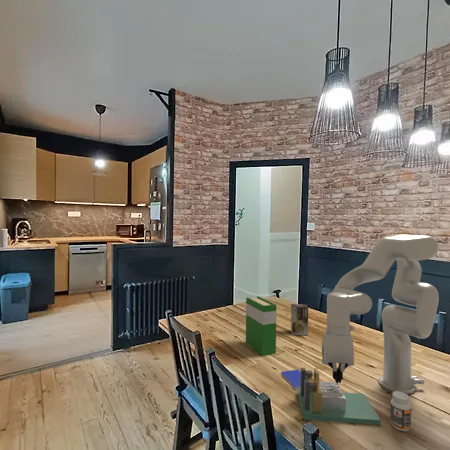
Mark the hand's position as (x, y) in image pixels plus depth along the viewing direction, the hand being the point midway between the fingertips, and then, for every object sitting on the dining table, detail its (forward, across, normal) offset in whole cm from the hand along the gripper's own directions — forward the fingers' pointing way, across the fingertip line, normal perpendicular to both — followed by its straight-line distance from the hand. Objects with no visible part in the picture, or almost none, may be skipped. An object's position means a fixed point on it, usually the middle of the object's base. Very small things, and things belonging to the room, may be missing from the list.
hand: (337, 381), depth 107 cm
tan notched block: (+7, +8, 0) cm, 11 cm away
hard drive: (+10, +12, -17) cm, 23 cm away
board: (+9, +1, +1) cm, 9 cm away
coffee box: (+10, +3, -70) cm, 70 cm away
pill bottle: (+9, -17, +8) cm, 21 cm away
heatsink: (+8, +3, 0) cm, 8 cm away
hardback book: (+9, +26, -47) cm, 54 cm away
